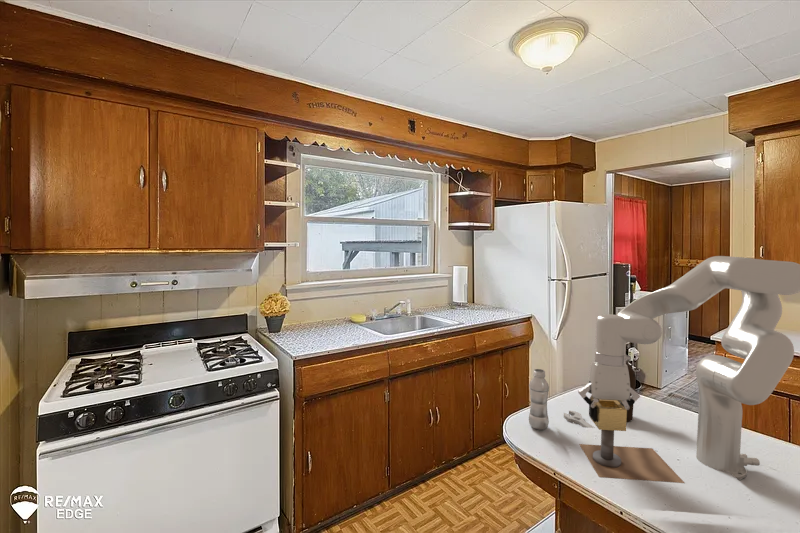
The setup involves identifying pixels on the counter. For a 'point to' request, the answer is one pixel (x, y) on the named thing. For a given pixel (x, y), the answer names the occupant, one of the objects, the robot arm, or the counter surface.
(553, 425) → the counter surface
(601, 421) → the brass collar
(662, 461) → the shaft board
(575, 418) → the adjustable wrench
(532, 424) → the plastic bottle
